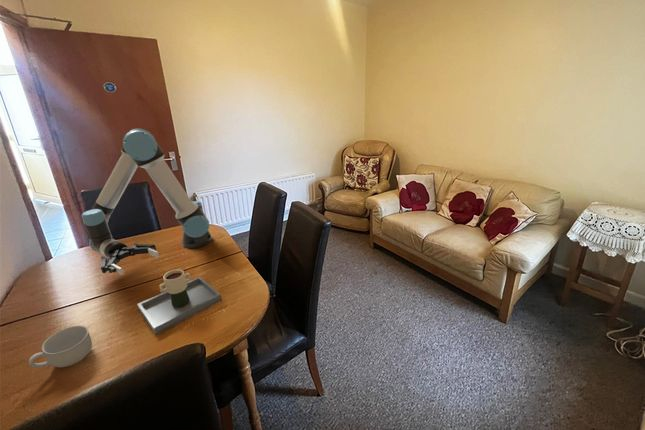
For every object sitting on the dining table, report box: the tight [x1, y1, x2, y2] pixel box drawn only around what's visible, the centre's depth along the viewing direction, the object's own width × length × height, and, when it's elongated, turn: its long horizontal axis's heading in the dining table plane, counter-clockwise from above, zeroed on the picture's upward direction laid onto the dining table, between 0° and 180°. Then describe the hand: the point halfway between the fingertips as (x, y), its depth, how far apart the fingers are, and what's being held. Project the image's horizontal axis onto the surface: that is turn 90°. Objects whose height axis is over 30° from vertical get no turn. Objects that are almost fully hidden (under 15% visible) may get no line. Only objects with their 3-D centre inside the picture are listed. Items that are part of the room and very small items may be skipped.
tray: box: [136, 276, 223, 336], centre depth 109 cm, size 24×18×3 cm
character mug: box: [158, 268, 192, 307], centre depth 107 cm, size 11×7×13 cm, turn 136°
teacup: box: [28, 325, 93, 369], centre depth 86 cm, size 14×11×8 cm
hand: (140, 263), depth 110 cm, fingers open, 13 cm apart
